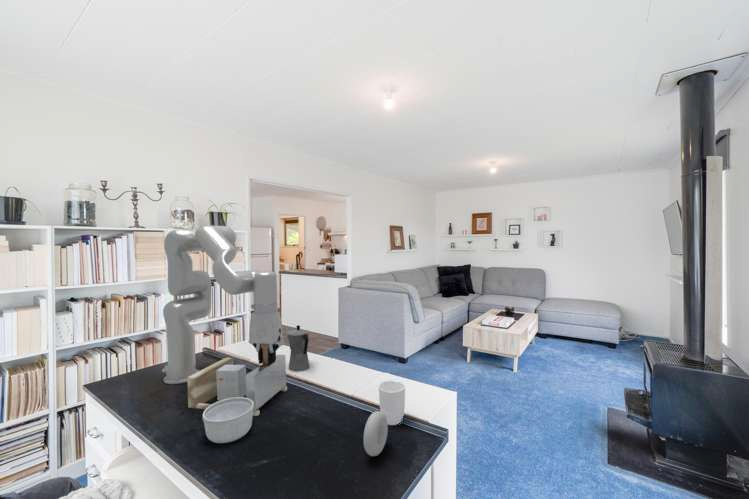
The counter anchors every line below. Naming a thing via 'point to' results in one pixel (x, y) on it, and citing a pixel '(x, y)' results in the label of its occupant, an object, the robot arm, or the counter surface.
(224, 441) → the ramekin
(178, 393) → the counter surface
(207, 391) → the frame
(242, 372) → the small box
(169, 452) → the counter surface
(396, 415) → the white cup
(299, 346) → the coffeepot
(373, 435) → the light grey round disc
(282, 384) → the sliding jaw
